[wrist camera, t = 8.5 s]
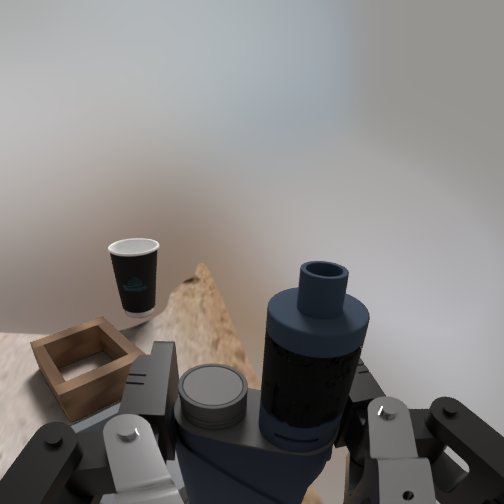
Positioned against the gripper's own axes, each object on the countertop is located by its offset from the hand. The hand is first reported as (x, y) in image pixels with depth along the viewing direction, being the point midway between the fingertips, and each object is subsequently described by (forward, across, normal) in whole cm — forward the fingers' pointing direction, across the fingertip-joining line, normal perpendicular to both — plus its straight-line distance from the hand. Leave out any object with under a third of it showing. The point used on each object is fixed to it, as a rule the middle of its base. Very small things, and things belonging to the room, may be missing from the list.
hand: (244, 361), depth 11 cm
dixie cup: (+35, +13, +18) cm, 41 cm away
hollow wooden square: (+18, +16, +17) cm, 30 cm away
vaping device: (-3, 0, +7) cm, 8 cm away
